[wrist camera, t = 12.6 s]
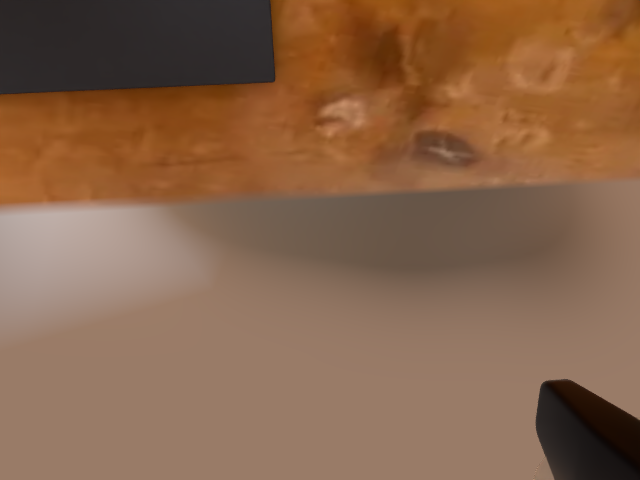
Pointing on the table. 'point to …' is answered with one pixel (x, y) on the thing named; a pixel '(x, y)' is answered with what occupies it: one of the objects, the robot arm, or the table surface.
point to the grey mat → (133, 44)
